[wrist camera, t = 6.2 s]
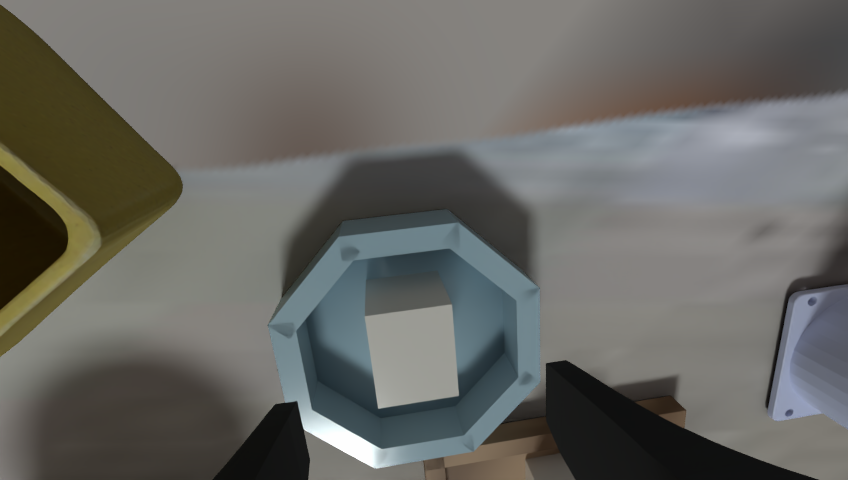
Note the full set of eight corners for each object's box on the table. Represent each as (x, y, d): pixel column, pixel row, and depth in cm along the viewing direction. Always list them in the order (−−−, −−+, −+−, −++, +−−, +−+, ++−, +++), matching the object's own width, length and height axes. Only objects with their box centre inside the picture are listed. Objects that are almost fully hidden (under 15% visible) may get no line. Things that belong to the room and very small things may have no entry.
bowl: (517, 200, 18) (539, 212, 16) (522, 405, 22) (540, 440, 19) (266, 229, 17) (249, 246, 15) (310, 439, 21) (302, 481, 18)
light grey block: (437, 270, 18) (452, 304, 15) (444, 348, 20) (459, 395, 16) (365, 279, 18) (364, 316, 15) (376, 358, 19) (378, 408, 16)
